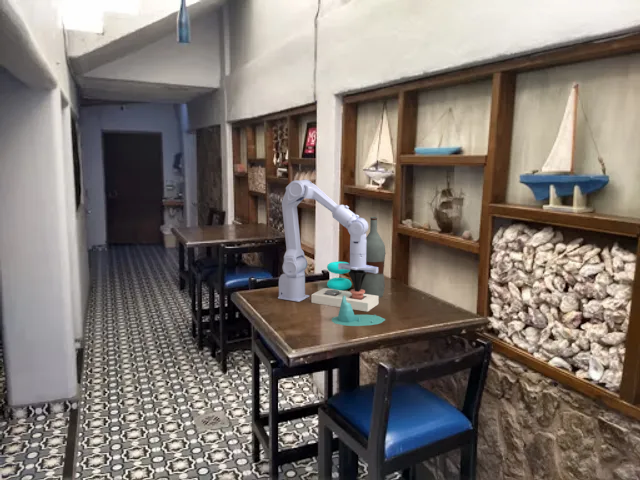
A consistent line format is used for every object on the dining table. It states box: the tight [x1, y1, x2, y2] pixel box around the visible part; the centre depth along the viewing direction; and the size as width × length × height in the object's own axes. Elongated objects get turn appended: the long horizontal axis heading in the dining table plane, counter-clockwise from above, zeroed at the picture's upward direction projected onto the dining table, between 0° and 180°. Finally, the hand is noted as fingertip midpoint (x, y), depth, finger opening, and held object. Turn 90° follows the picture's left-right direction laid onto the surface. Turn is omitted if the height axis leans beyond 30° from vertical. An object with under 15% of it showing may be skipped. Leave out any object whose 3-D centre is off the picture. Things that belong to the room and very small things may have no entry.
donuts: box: [326, 261, 353, 291], centre depth 194 cm, size 10×10×10 cm
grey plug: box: [325, 290, 340, 296], centre depth 176 cm, size 5×5×3 cm
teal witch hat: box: [331, 296, 386, 327], centre depth 156 cm, size 12×20×9 cm, turn 94°
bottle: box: [361, 216, 386, 299], centre depth 181 cm, size 9×9×30 cm
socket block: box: [310, 287, 380, 313], centre depth 174 cm, size 22×10×3 cm, turn 62°
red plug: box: [349, 288, 365, 300], centre depth 171 cm, size 5×5×3 cm
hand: (357, 290), depth 171 cm, fingers closed, pressing on red plug
